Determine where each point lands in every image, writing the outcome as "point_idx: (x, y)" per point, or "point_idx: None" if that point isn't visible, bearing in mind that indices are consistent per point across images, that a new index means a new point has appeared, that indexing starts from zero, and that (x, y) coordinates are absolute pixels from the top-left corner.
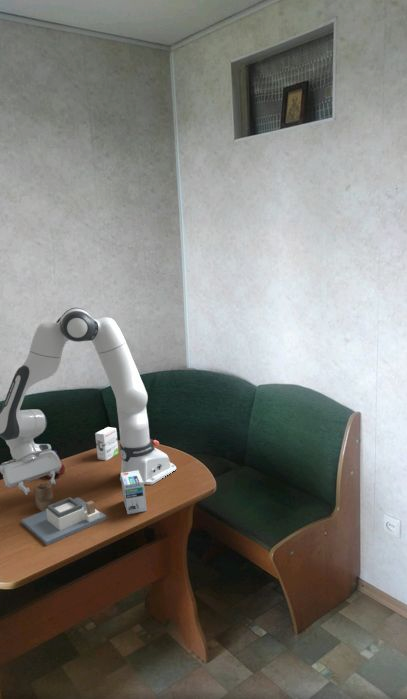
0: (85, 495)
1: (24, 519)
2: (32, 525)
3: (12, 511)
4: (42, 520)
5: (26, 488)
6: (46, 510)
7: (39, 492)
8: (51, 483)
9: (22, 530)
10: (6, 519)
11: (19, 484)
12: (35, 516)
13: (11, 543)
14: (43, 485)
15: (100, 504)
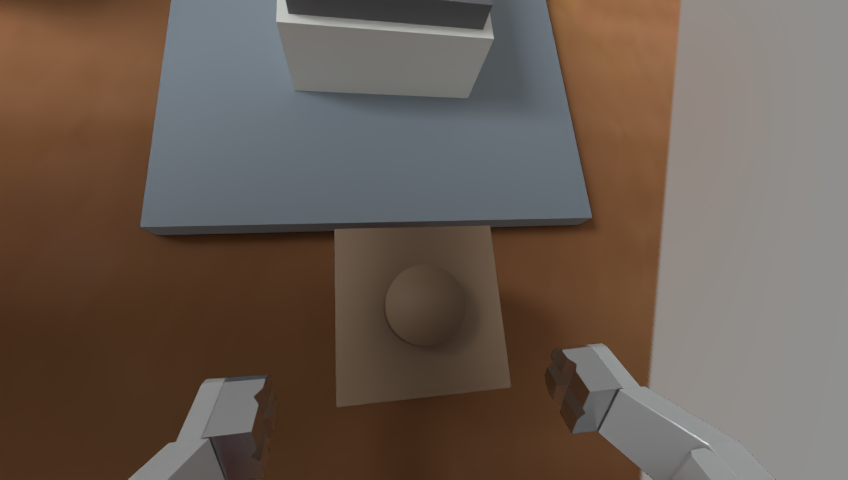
0: (55, 274)
1: (575, 208)
2: (552, 111)
3: None
4: (491, 118)
5: (615, 383)
6: (490, 42)
7: (486, 234)
8: (267, 387)
9: (589, 151)
10: (647, 340)
11: (749, 456)
12: (511, 192)
13: (649, 86)
14: (420, 287)
15: (88, 71)
